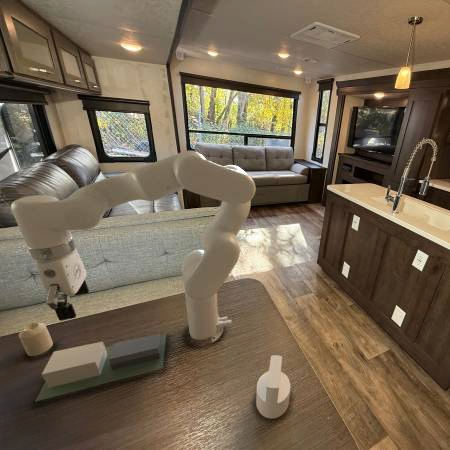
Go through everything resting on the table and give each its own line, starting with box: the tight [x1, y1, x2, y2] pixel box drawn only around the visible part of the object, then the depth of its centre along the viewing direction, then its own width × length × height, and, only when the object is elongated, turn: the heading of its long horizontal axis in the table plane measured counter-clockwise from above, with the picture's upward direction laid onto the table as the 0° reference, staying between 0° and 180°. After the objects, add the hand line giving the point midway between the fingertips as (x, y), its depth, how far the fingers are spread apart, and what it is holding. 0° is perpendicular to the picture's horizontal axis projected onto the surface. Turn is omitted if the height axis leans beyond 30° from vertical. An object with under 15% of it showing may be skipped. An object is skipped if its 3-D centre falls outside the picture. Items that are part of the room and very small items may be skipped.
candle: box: [18, 322, 54, 357], centre depth 73 cm, size 6×6×10 cm
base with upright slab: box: [255, 354, 291, 420], centre depth 65 cm, size 9×9×12 cm
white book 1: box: [41, 341, 105, 380], centre depth 67 cm, size 11×7×2 cm, turn 113°
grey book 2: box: [111, 340, 162, 370], centre depth 74 cm, size 12×6×2 cm, turn 113°
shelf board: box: [35, 334, 167, 403], centre depth 72 cm, size 28×13×2 cm, turn 113°
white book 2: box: [44, 345, 106, 383], centre depth 68 cm, size 11×7×2 cm, turn 113°
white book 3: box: [47, 351, 107, 388], centre depth 69 cm, size 11×7×2 cm, turn 113°
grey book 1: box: [109, 333, 161, 365], centre depth 73 cm, size 12×6×2 cm, turn 113°
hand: (75, 305), depth 64 cm, fingers open, 9 cm apart
